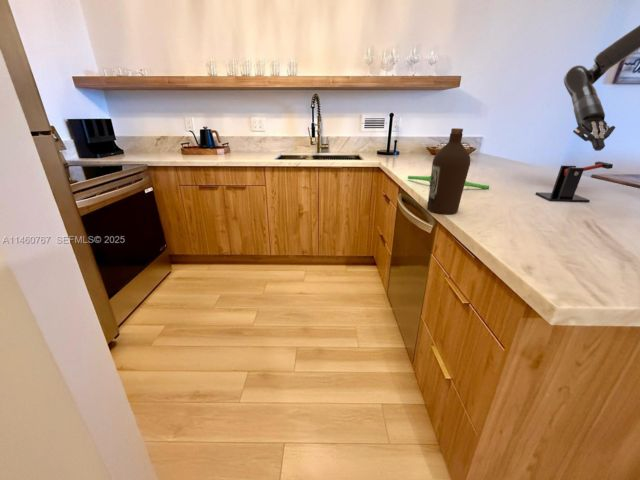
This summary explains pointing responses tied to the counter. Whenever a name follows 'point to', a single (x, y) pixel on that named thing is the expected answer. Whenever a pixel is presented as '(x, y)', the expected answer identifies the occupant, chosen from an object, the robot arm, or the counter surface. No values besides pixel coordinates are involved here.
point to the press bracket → (565, 186)
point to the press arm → (594, 166)
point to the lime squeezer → (428, 178)
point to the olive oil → (448, 175)
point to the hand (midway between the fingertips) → (599, 149)
